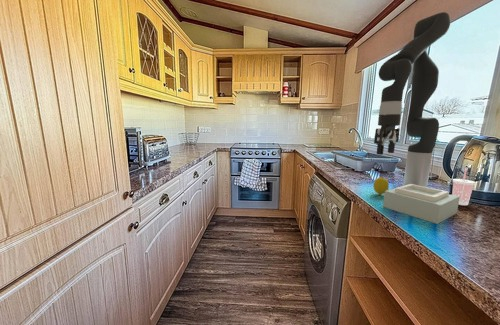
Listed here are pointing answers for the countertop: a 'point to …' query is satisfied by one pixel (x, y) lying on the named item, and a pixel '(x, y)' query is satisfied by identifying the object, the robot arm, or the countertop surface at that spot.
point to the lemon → (381, 185)
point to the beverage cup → (463, 189)
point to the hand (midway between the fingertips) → (385, 153)
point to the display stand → (422, 202)
